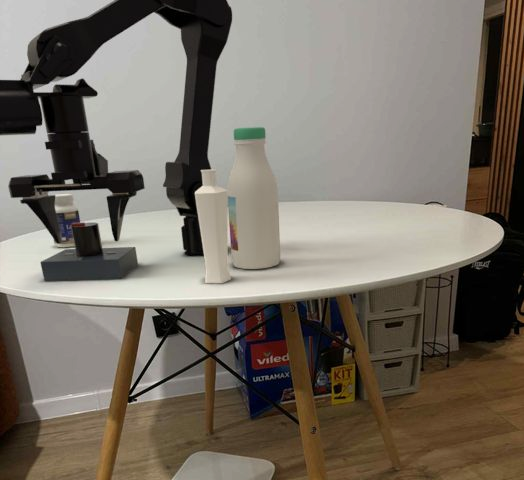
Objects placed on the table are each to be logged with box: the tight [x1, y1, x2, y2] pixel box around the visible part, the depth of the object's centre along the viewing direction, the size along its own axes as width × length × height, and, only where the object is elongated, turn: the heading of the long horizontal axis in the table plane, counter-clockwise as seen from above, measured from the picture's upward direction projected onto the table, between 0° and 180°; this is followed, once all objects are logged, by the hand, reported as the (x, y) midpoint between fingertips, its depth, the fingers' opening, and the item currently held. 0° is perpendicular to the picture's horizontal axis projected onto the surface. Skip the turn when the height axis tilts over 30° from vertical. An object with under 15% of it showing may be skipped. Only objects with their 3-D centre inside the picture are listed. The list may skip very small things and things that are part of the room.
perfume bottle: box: [195, 168, 232, 284], centre depth 69 cm, size 5×4×15 cm
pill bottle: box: [52, 193, 81, 248], centre depth 101 cm, size 6×6×10 cm
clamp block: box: [40, 246, 139, 282], centre depth 79 cm, size 12×9×3 cm
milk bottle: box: [227, 126, 281, 270], centre depth 76 cm, size 8×8×20 cm
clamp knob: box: [71, 221, 103, 256], centre depth 78 cm, size 4×4×5 cm
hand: (88, 241), depth 78 cm, fingers open, 9 cm apart
